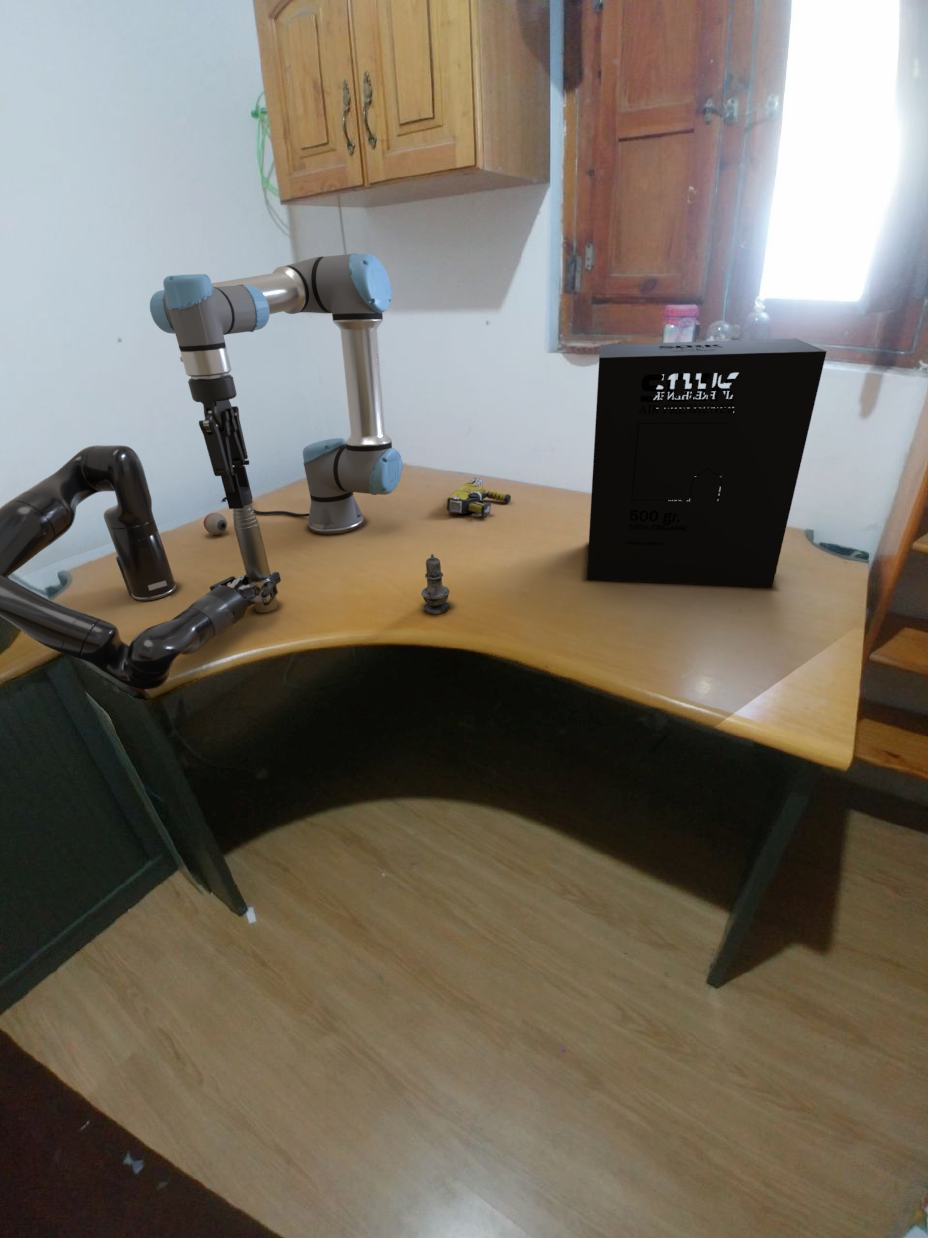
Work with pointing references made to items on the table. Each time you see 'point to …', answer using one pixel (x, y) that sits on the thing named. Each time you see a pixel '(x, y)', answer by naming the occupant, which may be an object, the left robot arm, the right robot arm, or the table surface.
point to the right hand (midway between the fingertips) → (241, 503)
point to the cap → (246, 495)
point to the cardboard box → (698, 459)
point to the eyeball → (215, 523)
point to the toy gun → (473, 499)
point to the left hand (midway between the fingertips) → (267, 574)
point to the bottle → (252, 551)
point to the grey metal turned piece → (435, 588)
